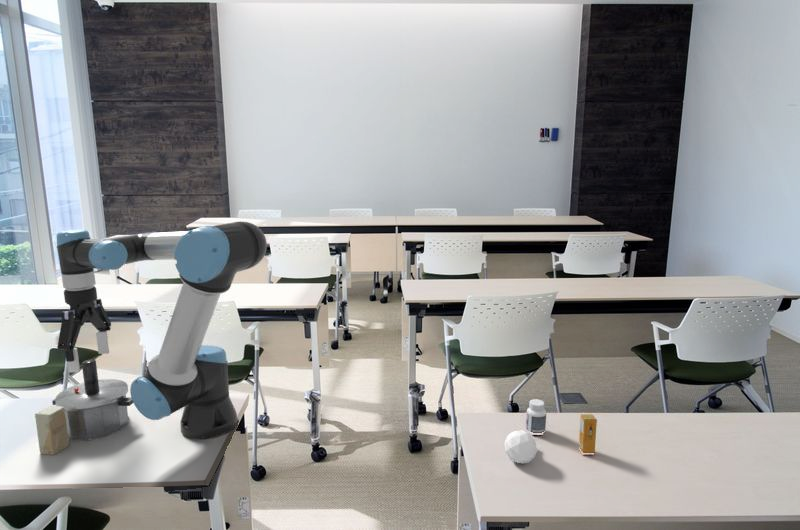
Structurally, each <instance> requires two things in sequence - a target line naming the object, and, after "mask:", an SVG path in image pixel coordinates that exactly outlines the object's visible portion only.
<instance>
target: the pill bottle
mask: <svg viewBox="0 0 800 530" xmlns="http://www.w3.org/2000/svg"><path fill="white" fill-rule="evenodd" d="M528 405H529V407H527V409H526V420H525V430H526V429H527V430H528V431H530V432H533V433H542V432H544V431H545V432H546V425H547V411H546V409H545V402H544V401H543V400H542V399H537V398H535V399H534V398H533V399H531V400H529V404H528Z"/></svg>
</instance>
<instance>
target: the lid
mask: <svg viewBox="0 0 800 530" xmlns="http://www.w3.org/2000/svg"><path fill="white" fill-rule="evenodd" d="M81 368H82V377H83V382H80V383H77V384H74V385H73V386H70V387H67V388H66V389H63V390H62V391H60V392H59V393H58V394H57V395H56V397H55V402H56V405H55V406H60V407H64V410H67V411H82V410H90V409H95V408H99V407H103V406H106V405H109V404H111V403H114V402H116V401H118V400H120V399H121V398H123V397H124V396H125V395H126V396H127V395H128V392H129V385H128V383H127V382H126V381H124V380H121V379H116V378H115V379H114V378H104V379H99V376H98V367H97V360H96V359H86V360H84V361H82V362H81Z"/></svg>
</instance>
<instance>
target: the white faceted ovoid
mask: <svg viewBox="0 0 800 530" xmlns="http://www.w3.org/2000/svg"><path fill="white" fill-rule="evenodd" d="M503 445H504V449H505V453H506V455H507V456H508V458H509V460H510V461H512V462H514V463H516V462H517V464H518V463H521V464H528V463H529V462H531V461H533V460H534V459H535V457H536V454H537V452H538V447H537V442H536V439H535V438H534V436H533V435H531V434H530V433H528V432H526V430H521V429H519V430H514V431H512V432H510V433H509V434H507V437H506V439H505V441H504V444H503Z"/></svg>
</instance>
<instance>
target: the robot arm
mask: <svg viewBox="0 0 800 530" xmlns="http://www.w3.org/2000/svg"><path fill="white" fill-rule="evenodd" d="M55 237H56V249H57V254H58V255H57V256H58V262H59V268H60V273H61V279H62V281H61V282H62V288H63V289H64V291H63V298H64V302H65V303H66V305H69V310H67V311H65V310H64V311H62V312H61V324H60V329H59V335H58V343H57V350H58V351H59V350H61V351H62V350H63V351H64V355H65V361H66V365H67V372H68V373H80V372H81V368H80V361H79V353H78V348H77V347H76V344H77V341H78V337H79V335H80V331H81V329H82V326H84V325H85V323H87V321H89V322H90V323H91V324H92V326H93V327H94V328H96V330H97V331H96V332H95V338H96V345H97V351H98V354H99V355H100V354H101V355H107V354H110V349H109V348H110V347H109V340H108V339H109V337H108V332H109V331H111V329H112V328H111V327H112V322H111V320H110V318H109V316H108V314H107V312H106V310H105V308H104V305H103V303H102V299H101V298H98V292H97V287H96V286H95V285H96V276H95V269H98V270H103V271H110V270H111V271H113V270H118V269H120V268H122V267H123V266H124V265H129V264H132V263H133V264H134V263H137V262H143V261H144V262H145V261H158V260H159V261H161V260H162V261H163V260H165V261H167V260H174V261H176V263H175V268H176V269H177V272H178V274H179V275H178V277H179V278H180V280H181V281H182V286H181V289H180V291H179V295H178V297H177V300H176V303H175V306H174V310H173V311H172V315H171V318H170V321H169V324H168V327H167V330H166V333H165V336H164V339H163V341H162V345H161V348H160V349H159V353H158V354H157V355H155V356H152V358H151V359H150V360H149V362H148V365H147V368H146V371H145V373H144V375H142V376H138V377H137V378H135V379H134V380H133V381H132V382H131V384H130V387H129V388H130V389H129V390H130V398H132V400H133V402H134V403H133V405H134V406H135V408H136V409H137V411H138V412H139V413H140V414H141V415H142V416H144V417H145V418H147V419H149V420H151V421H159V420H162V419H164V418H165V417H166V418H167V417H169V416H171V415H172V414H174V413H176V412H178V411H180V409H183V411H182V415H181V419H180V424H179V425H180V432H181V433H182V435H184V436H186V437H187V438H191V439H209V438H215V437H219V436H221V435H224V434H227V433H229V432H230V431H231V430H233V429H234V428H235V427H236V426H237V423H238V413H237V411H236V408H235V406H234V404H233V401H232V400H231V398H230V391H229V390H230V388H229V385H230V384H229V370H228V369H229V368H228V367H229V366H228V360H227V359H228V358H227V352H226V350H225V349H224V348H222V347H221V346H220V347H219V346H217V345H208V344H207V345H206V344H205V345H204V344H203V342H204V338H205V336H206V334H207V331H208V329H209V326H210V323H211V322H212V321H211V320H212V318H213V315H214V313H215V309H216V308H217V307H216V306H217V304H218V301H219V299H220V296H221V294H224V293H226V292H228V291H229V290H230V289H231V286H232V284H233V281H234V278H235V277H236V274H237V273H240V272H243V271H247V270H249V269H251V268H252V269H253V268H254V267H255V266H257V265H258V264H259V263H260V262H261V261H263V259H264V257H265V255H266V252H267V249H268V243H267V238H266V236H265V233H264V232H263V231H262V230H261V228H259V227H258V226H257V225H255V224H254V223H252V222H248V221H234V222H233V221H232V222H226V223H222V224H217V225H204V226H199V227H197V228H194V229H191V230H186V231H185V230H183V231H166V232H165V231H164V232H163V231H162V232H157V231H146V232H142V233H136V234H130V235H122V236H117V237H115V236H114V237H110V238H108V237H107V238H103V239H101V238H100V239H94V238H91V236H90V233H89V231H88V230H87V229H69V230H68V229H67V230H62V231H58V232H57V234H56V236H55Z"/></svg>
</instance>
